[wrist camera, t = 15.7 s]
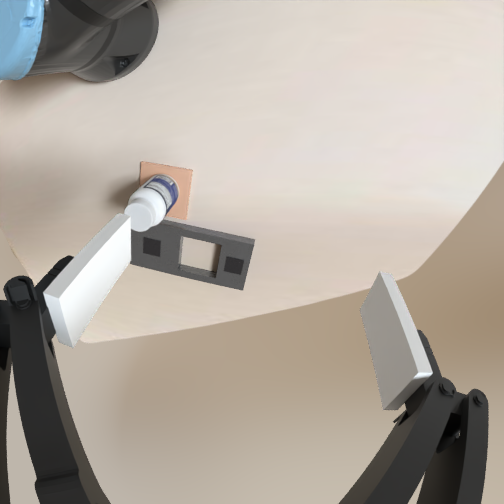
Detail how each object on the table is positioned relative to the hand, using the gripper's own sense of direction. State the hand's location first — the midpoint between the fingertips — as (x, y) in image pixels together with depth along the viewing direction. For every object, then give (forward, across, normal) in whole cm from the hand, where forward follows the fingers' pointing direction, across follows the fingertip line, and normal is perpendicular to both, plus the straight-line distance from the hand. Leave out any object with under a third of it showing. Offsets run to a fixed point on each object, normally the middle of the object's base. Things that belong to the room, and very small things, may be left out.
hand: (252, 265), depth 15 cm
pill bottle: (+28, -14, -9) cm, 33 cm away
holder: (+29, -9, -19) cm, 36 cm away
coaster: (+29, -14, -10) cm, 33 cm away
